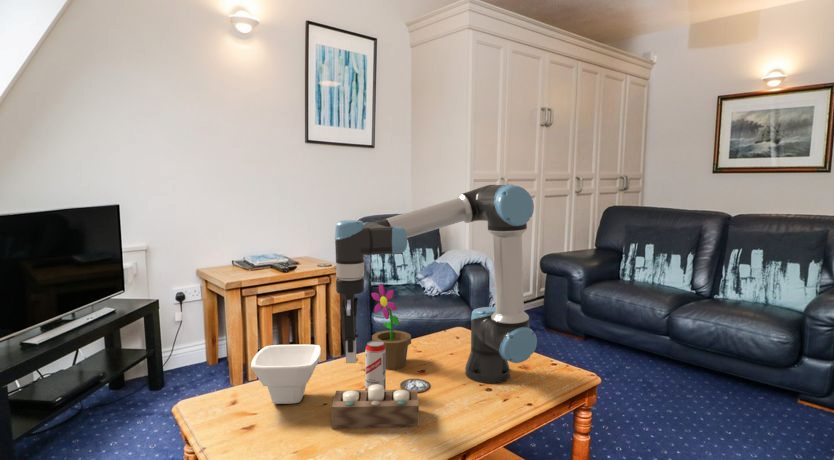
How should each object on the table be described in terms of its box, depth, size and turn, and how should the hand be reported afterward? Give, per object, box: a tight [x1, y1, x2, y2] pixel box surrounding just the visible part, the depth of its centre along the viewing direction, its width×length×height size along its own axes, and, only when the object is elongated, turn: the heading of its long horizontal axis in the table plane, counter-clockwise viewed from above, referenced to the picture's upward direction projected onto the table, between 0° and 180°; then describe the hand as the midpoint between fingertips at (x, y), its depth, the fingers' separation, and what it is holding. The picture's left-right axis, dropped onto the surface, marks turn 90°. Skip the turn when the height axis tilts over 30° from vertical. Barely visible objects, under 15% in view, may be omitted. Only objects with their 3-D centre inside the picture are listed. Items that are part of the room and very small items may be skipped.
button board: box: [331, 389, 420, 430], centre depth 132 cm, size 23×10×6 cm, turn 93°
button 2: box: [394, 389, 409, 400], centre depth 133 cm, size 4×4×5 cm
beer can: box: [364, 340, 387, 390], centre depth 147 cm, size 6×6×16 cm
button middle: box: [368, 384, 384, 401], centre depth 133 cm, size 4×4×5 cm
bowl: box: [250, 343, 322, 405], centre depth 143 cm, size 19×19×14 cm
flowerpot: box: [371, 283, 412, 371], centre depth 171 cm, size 14×14×30 cm
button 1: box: [343, 390, 359, 401], centre depth 133 cm, size 4×4×5 cm
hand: (351, 362), depth 131 cm, fingers closed
